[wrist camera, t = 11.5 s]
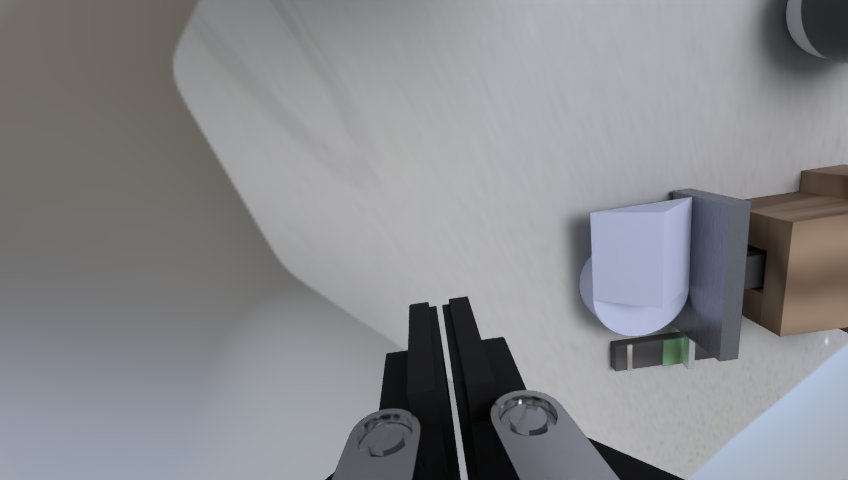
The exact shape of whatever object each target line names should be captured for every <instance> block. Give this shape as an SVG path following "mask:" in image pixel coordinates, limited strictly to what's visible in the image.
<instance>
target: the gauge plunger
mask: <svg viewBox="0 0 848 480" xmlns="http://www.w3.org/2000/svg"><path fill="white" fill-rule="evenodd" d="M689 197H692V218H691V246H690V274H689V291H688V296H687V299H686V301H685V304H684V306H683V307H682V309H681V311H680V312H679V313H678V315H677V316H676V317H675V318H674V319H673V320H672V321H671V322H670V324H671V325H672V326H674V327H675V328H676V329H678V330H679V331H680V332H681V333H683V334H684V352H683V365H684V366H685V367H686V368H687V369H694V361H695V343H696V344H697V345H699V346H700V347H701V348H703V349H704V350H705V351H707V352H708V353H709V354H710V355H712V356H713V357H714V358H716V359H717V360H718V361H726V360H733V359H738V352H739V340H740V328H741V316H742V304H743V292H744V289H748V288H755V287H762V286H764V279H765V269H766V258H767V251H765V250H762V249H759V248H757V247H754V246H751V245H748V232H749V220H750V208H751V201H746V200H741V199H737V198H732V197H727V196H723V195H718V194H713V193H709V192H704V191H699V190H694V189H684V190H677V191H673V200H676V199H682V198H689Z"/></svg>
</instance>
